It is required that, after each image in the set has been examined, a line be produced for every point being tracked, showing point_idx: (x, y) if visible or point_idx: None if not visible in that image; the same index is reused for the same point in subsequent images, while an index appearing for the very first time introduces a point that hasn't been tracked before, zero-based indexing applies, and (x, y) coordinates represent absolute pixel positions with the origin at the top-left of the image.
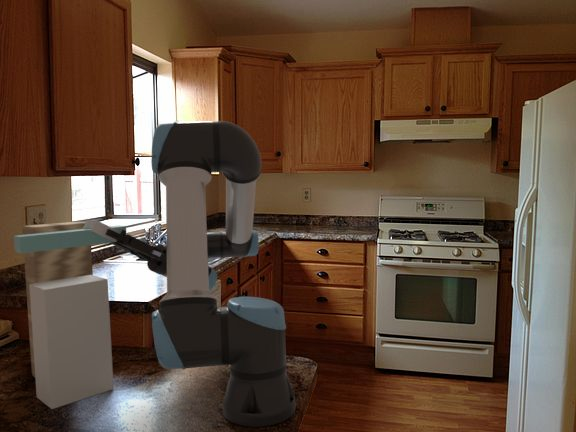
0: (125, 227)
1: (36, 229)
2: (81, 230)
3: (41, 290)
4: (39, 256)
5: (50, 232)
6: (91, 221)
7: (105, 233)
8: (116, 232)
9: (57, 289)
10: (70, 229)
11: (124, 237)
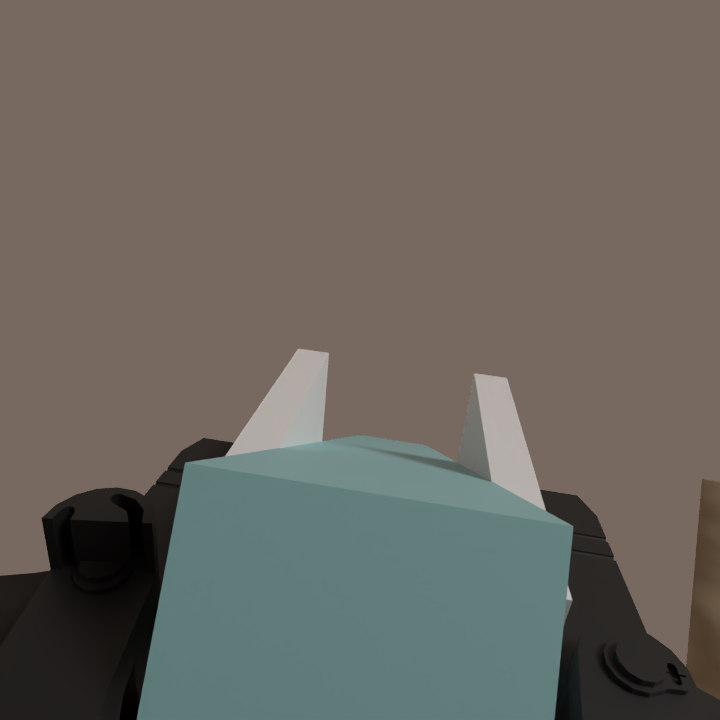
0: (188, 492)
1: (714, 497)
2: (350, 443)
3: None
4: (703, 687)
5: (417, 447)
6: (475, 395)
7: None
8: (146, 495)
9: None
10: None
11: (5, 599)
